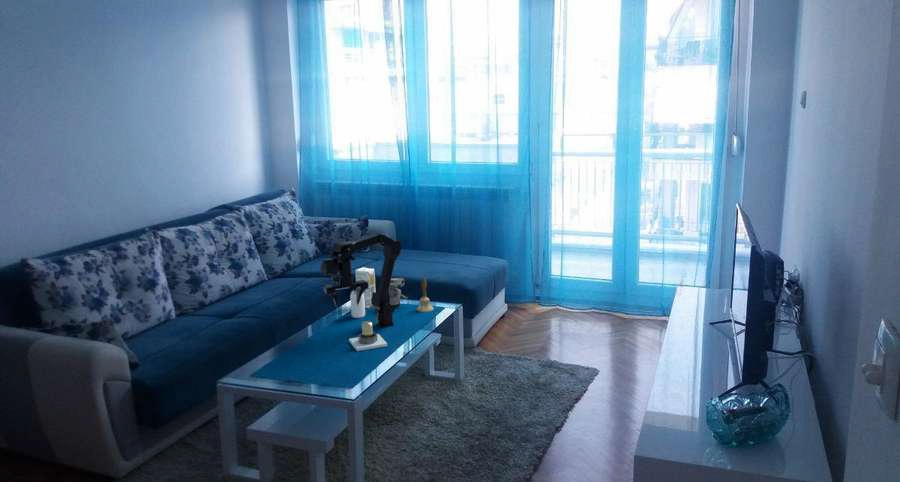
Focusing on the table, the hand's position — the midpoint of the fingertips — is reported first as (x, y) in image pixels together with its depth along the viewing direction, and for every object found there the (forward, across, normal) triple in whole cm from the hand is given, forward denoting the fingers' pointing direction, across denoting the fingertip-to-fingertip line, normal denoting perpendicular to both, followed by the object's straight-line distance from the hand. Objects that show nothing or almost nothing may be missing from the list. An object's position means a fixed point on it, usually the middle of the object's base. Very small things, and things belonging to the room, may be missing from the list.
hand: (347, 305), depth 302 cm
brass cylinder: (+12, -4, +16) cm, 20 cm away
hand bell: (+13, -43, -16) cm, 48 cm away
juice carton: (+13, -20, -36) cm, 43 cm away
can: (+13, -11, -23) cm, 29 cm away
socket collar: (+12, -3, +16) cm, 20 cm away
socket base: (+13, -3, +16) cm, 21 cm away
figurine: (+13, -31, -26) cm, 43 cm away
